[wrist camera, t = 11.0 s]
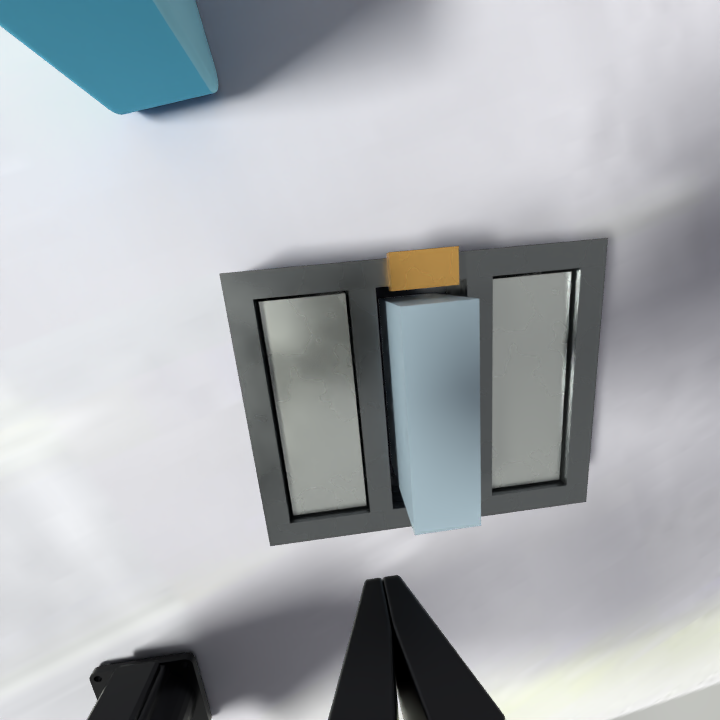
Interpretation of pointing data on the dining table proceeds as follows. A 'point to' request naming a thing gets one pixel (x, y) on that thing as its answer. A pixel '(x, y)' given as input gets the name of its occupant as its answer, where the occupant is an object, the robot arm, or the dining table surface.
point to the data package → (119, 47)
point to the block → (434, 406)
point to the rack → (336, 381)
